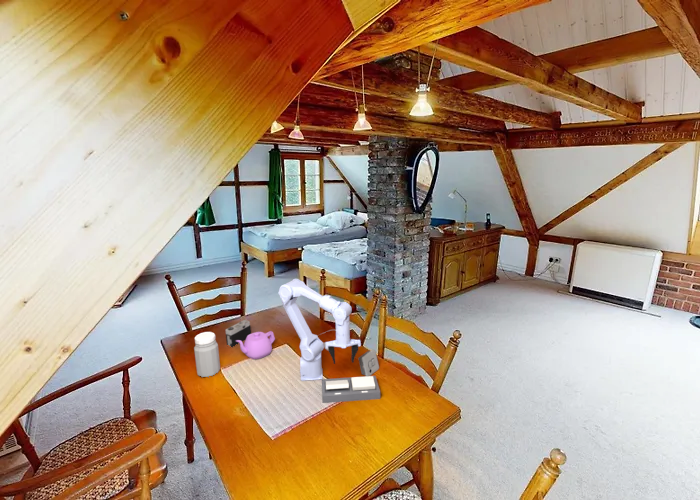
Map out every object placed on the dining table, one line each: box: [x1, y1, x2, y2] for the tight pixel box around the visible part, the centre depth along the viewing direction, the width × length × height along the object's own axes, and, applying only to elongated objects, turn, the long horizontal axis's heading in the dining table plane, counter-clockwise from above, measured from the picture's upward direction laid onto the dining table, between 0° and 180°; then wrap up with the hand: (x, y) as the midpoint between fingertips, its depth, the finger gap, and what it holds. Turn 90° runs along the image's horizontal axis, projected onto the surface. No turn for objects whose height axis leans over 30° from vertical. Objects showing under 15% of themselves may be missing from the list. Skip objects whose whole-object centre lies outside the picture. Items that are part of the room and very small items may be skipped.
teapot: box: [236, 330, 276, 360], centre depth 167 cm, size 13×20×11 cm, turn 132°
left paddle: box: [326, 380, 349, 389], centre depth 138 cm, size 9×6×2 cm, turn 96°
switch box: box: [321, 375, 381, 404], centre depth 139 cm, size 23×11×3 cm, turn 96°
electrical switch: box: [357, 349, 380, 377], centre depth 152 cm, size 9×5×9 cm, turn 141°
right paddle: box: [351, 375, 375, 391], centre depth 139 cm, size 9×6×2 cm, turn 96°
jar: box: [193, 331, 221, 378], centre depth 150 cm, size 10×10×18 cm
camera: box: [225, 319, 252, 348], centre depth 180 cm, size 14×9×10 cm, turn 143°
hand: (343, 361), depth 142 cm, fingers open, 7 cm apart
